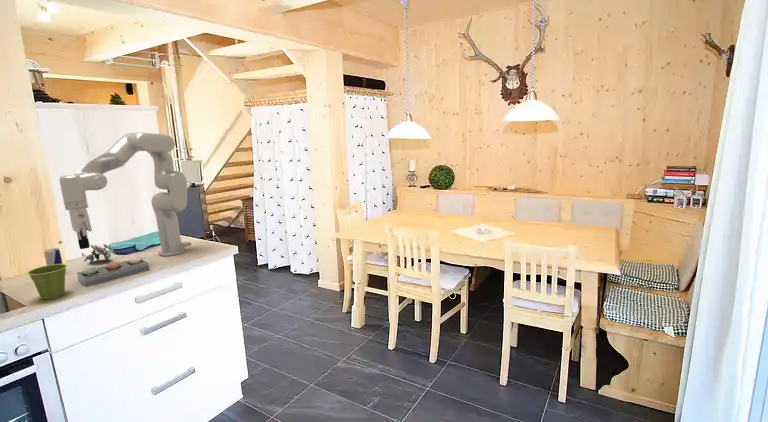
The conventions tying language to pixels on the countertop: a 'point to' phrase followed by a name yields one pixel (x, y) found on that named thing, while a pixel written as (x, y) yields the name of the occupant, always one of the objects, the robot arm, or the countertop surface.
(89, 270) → the sage button
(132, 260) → the ivory button
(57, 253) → the energy drink
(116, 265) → the terracotta button
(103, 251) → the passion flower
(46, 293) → the plant pot
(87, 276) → the console
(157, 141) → the robot arm
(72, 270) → the countertop surface
